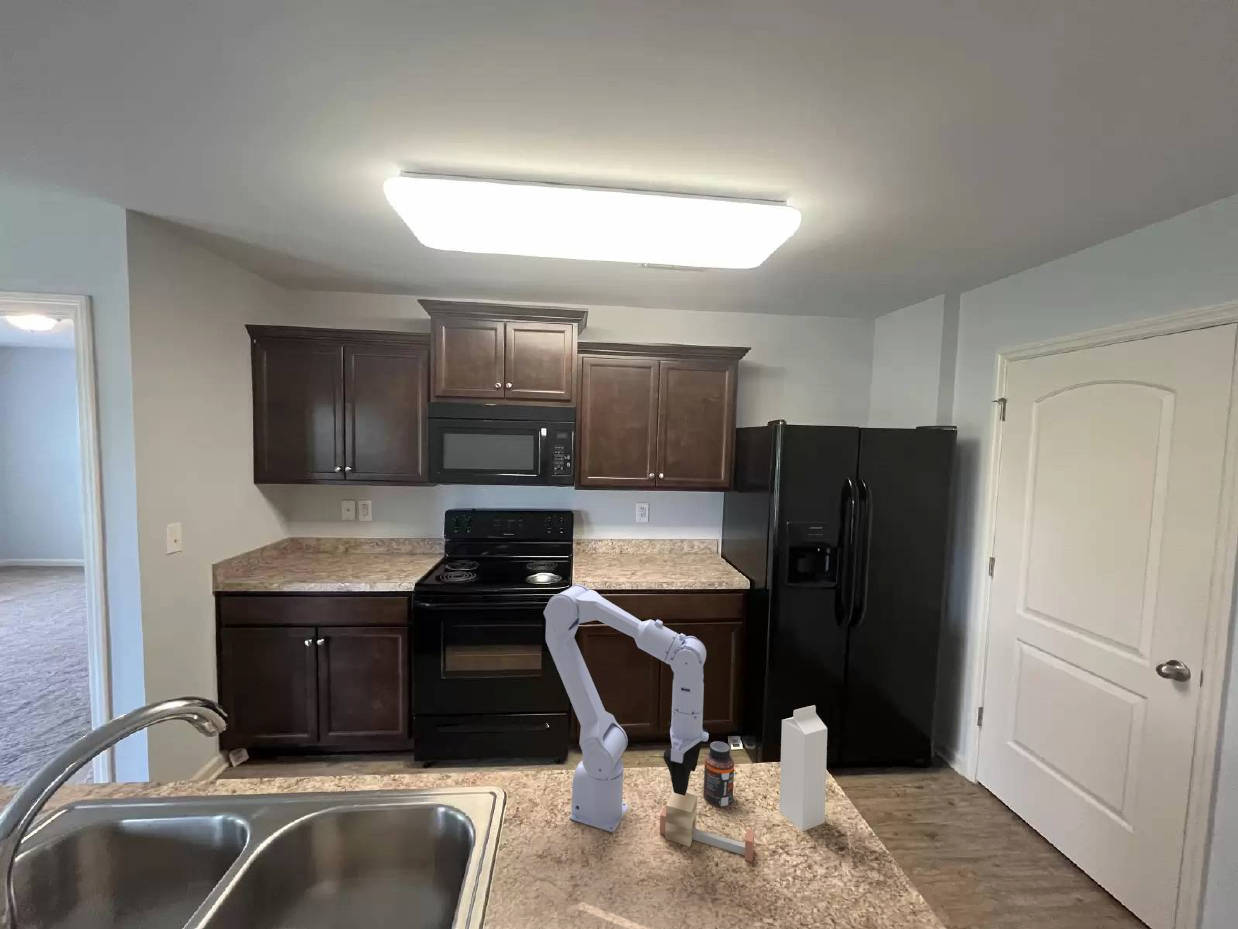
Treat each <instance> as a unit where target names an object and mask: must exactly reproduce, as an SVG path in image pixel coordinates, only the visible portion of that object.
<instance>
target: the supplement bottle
mask: <svg viewBox="0 0 1238 929" xmlns="http://www.w3.org/2000/svg"><path fill="white" fill-rule="evenodd" d="M730 749H731V747H730V745H728V743H725V742H724V741H717V740H716V741H713V742H710V745H709V751H708V753H706V754H705V756H704V757H705V758H704V767H703V769H704V770H703V772H704V774H703V799H704V800H705V802H707V804H709V805H710V806H713V807H716V808H721V809H722V808H727V807H730V806H732V804H733V801H734V778H735V760H734V758H733V756H731V755H730V754H731V750H730Z"/></svg>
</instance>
